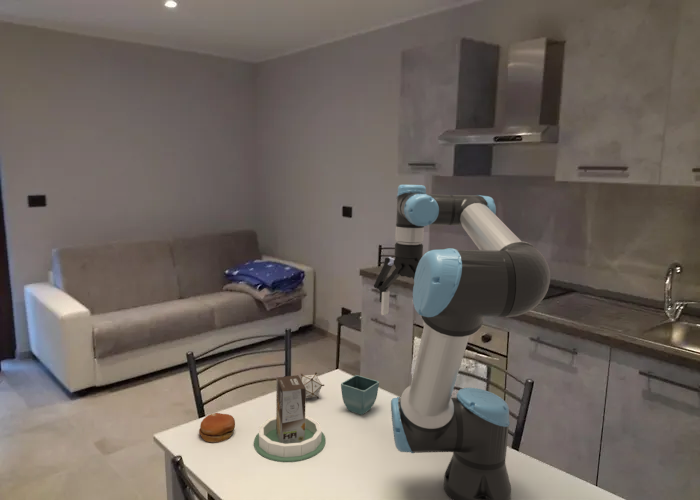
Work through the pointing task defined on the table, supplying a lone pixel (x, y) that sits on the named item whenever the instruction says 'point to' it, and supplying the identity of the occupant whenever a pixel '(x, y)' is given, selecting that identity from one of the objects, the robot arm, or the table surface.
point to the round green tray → (290, 452)
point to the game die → (311, 385)
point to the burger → (217, 427)
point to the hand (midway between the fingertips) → (405, 319)
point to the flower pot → (359, 393)
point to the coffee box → (290, 409)
